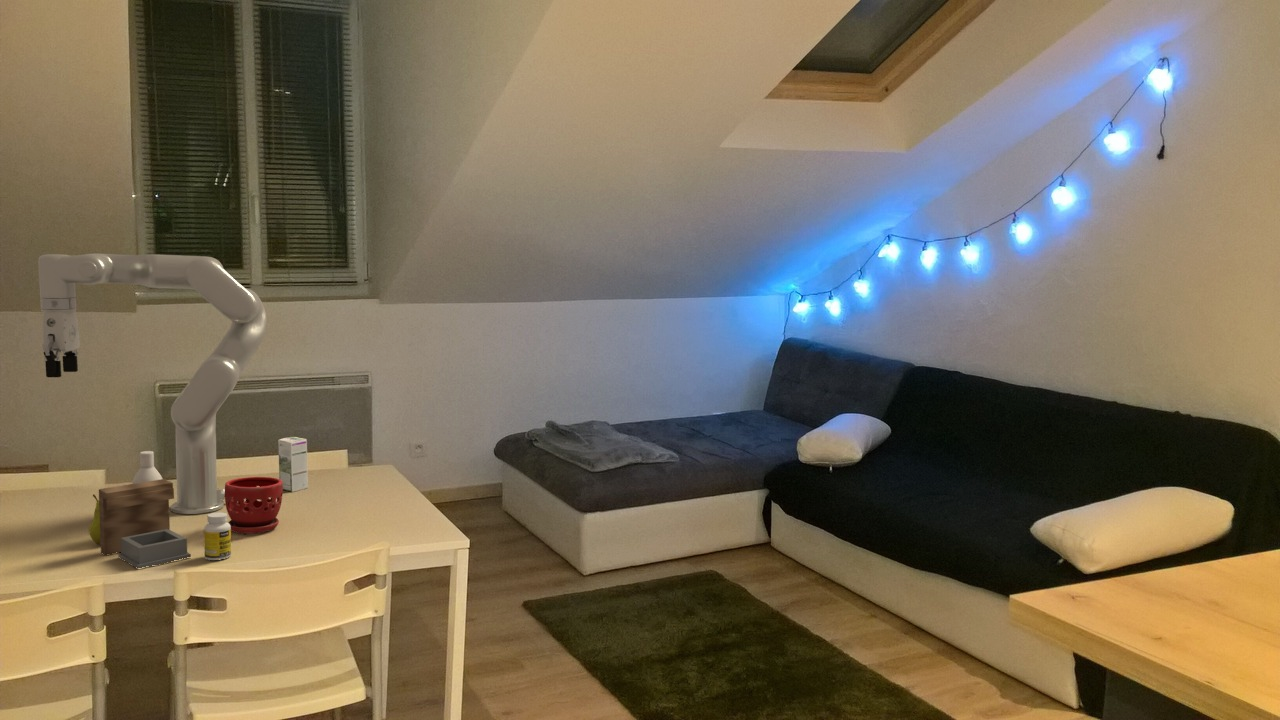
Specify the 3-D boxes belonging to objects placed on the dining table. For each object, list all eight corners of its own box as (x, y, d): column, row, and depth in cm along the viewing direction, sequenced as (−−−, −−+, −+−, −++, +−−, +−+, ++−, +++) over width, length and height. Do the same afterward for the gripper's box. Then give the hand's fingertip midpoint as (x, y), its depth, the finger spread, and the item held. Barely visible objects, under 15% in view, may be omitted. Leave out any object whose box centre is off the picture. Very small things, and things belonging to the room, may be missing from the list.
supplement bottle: (221, 562, 213) (220, 518, 212) (199, 560, 214) (198, 516, 213) (236, 554, 218) (235, 512, 217) (214, 552, 219) (213, 510, 218)
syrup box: (308, 488, 277) (308, 438, 276) (291, 492, 272) (290, 441, 271) (295, 485, 280) (294, 435, 279) (278, 489, 275) (277, 439, 274)
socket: (169, 547, 222) (169, 527, 222) (190, 558, 215) (190, 538, 215) (118, 557, 214) (117, 537, 214) (138, 569, 207) (137, 549, 206)
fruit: (123, 540, 227) (121, 489, 225) (110, 547, 221) (108, 496, 219) (98, 539, 226) (95, 489, 225) (84, 547, 221) (82, 495, 219)
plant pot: (277, 536, 233) (276, 487, 231) (219, 537, 230) (218, 488, 229) (288, 520, 245) (287, 474, 244) (233, 521, 243) (232, 474, 242)
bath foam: (129, 539, 227) (126, 455, 224) (137, 531, 234) (134, 449, 231) (161, 538, 228) (158, 454, 226) (168, 530, 235) (166, 448, 233)
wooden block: (165, 540, 227) (163, 478, 226) (175, 545, 224) (173, 483, 222) (101, 553, 217) (98, 489, 215) (110, 558, 213) (107, 493, 212)
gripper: (60, 307, 230) (64, 379, 232) (89, 302, 247) (92, 369, 249) (25, 307, 229) (29, 379, 231) (57, 302, 246) (60, 369, 248)
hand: (62, 374), depth 240 cm, fingers open, 9 cm apart
